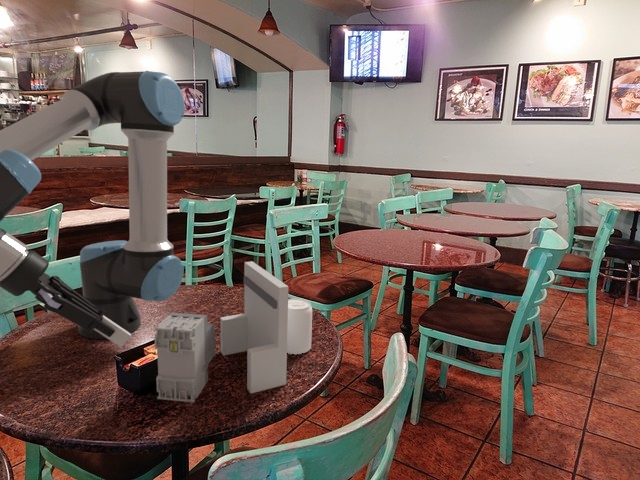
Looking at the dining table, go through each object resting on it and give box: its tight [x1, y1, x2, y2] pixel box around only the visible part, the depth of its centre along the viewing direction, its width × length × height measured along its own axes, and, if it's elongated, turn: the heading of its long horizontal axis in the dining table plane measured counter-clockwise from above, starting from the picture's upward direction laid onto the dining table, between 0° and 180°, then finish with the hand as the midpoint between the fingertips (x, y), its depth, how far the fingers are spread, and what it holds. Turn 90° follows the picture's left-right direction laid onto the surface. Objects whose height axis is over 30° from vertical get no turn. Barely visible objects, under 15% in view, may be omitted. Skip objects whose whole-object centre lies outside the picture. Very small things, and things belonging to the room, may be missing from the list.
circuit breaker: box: [154, 312, 216, 403], centre depth 94 cm, size 8×14×15 cm, turn 174°
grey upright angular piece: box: [219, 260, 289, 394], centre depth 100 cm, size 20×8×22 cm, turn 30°
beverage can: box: [287, 297, 313, 356], centre depth 111 cm, size 8×8×12 cm
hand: (125, 340), depth 87 cm, fingers closed
